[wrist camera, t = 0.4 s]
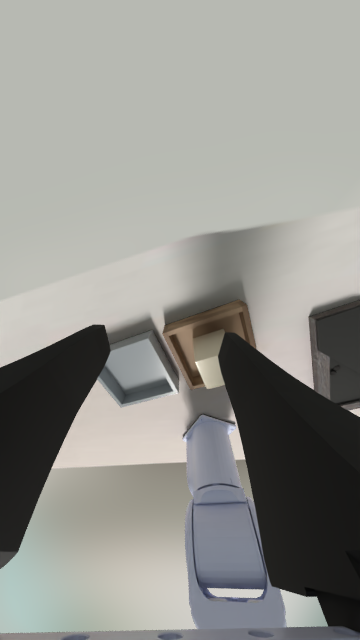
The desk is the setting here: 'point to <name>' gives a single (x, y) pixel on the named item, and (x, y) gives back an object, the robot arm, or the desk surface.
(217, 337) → the sandstone block
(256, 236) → the desk surface
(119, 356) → the grey tray
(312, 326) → the picture frame
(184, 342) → the walnut tray
